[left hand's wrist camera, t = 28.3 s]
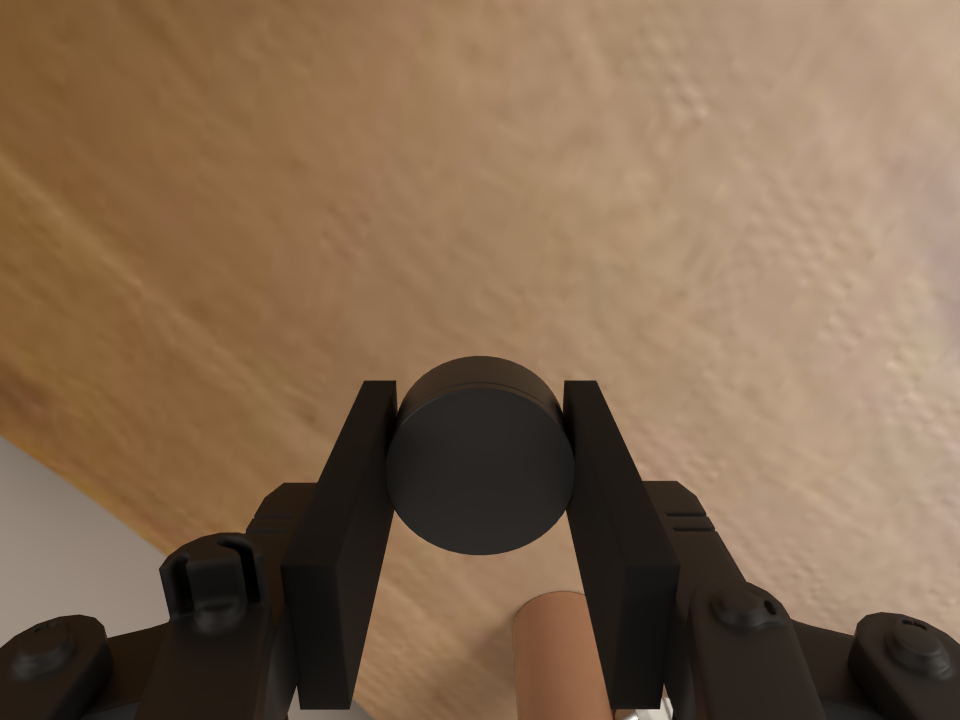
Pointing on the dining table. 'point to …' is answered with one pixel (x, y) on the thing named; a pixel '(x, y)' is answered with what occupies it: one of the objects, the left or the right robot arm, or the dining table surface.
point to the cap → (480, 457)
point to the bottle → (558, 661)
